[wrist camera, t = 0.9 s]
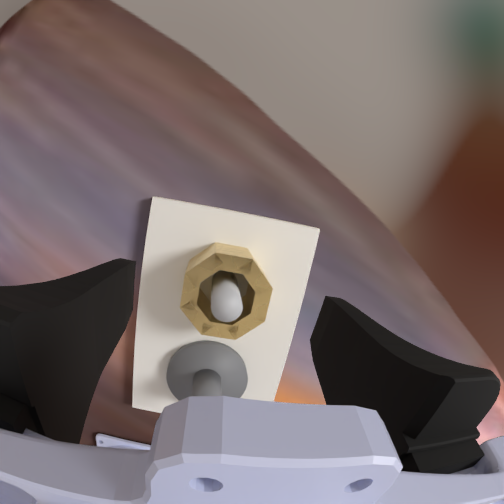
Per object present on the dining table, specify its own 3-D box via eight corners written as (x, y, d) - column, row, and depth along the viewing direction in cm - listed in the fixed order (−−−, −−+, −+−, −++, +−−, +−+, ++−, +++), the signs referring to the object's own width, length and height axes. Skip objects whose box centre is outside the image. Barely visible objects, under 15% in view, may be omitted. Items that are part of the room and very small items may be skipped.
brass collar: (253, 321, 24) (259, 343, 20) (181, 310, 23) (176, 330, 20) (269, 252, 23) (278, 263, 19) (193, 237, 22) (189, 247, 19)
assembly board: (264, 418, 27) (274, 464, 21) (134, 400, 25) (120, 445, 20) (316, 227, 24) (346, 241, 18) (155, 196, 22) (135, 200, 16)
